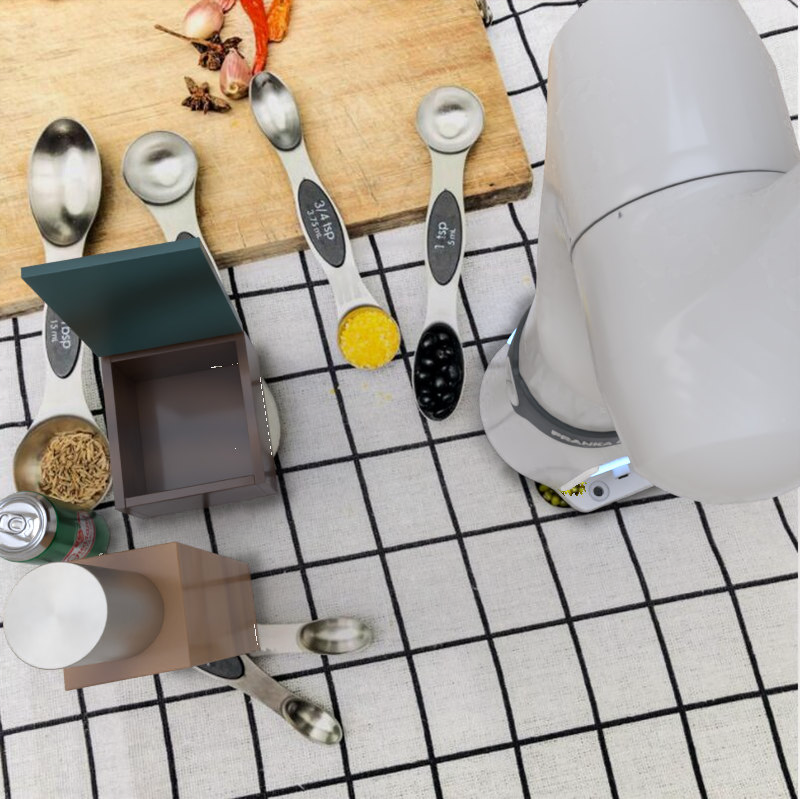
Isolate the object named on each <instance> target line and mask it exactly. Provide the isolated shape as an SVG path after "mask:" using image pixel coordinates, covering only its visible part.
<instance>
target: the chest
mask: <svg viewBox="0 0 800 799" xmlns="http://www.w3.org/2000/svg"><path fill="white" fill-rule="evenodd" d="M99 358H100V366H101V377H102V378H101V379H102V387H103V397H104V406H105V407H104V410H105V417H106V419H105V420H106V429H107V439H108V450H109V459H110V461H109V462H110V469H111V481H112V482H111V483H112V490H113V491H112V492H113V502H114V510H115V511H118V512H121V513H123V514H126V515H128V516H131V517H134V518H137V519H140V520H149V519H155V518H159V517H164V516H170V515H176V514H181V513H186V512H187V513H188V512H191V511H192V512H193V511H198V510H203V509H209V508H215V507H219V506H225V505H230V504H236V503H242V502H247V501H251V500H257V499H263V498H270V497H275V496H279V495H280V491H279V483H278V477H277V470H276V464H275V457H274V451H273V444H272V443H273V442H272V436H271V431H270V423H269V415H268V410H267V403H266V395H265V390H264V383H263V376H262V368H261V363H260V362H261V361H260V355H259V353H258V352H257V350H256V348H255V346H254V344H253V343H252V341H251V340H250V337H249V336H248V335H247V333H246V331H245V330H244V329H243V332H239V333H233V334H227V335H222V336H216V337H210V338H205V339H199V340H193V341H188V342H182V343H176V344H171V345H165V346H159V347H154V348H148V349H142V350H137V351H131V352H125V353H120V354H114V355H108V356H103V357H99ZM237 363H238V364H237ZM232 364H233V365H232ZM214 366H222V367H216V368H211V367H214ZM260 377H261V382H260ZM261 384H262V389H261ZM262 391H263V395H262ZM263 398H264V402H263ZM264 405H265V408H264ZM265 411H266V415H265ZM266 418H267V421H266ZM267 425H268V427H267ZM268 432H269V435H268ZM269 439H270V441H269ZM270 446H271V449H270ZM235 448H236V449H235ZM271 452H272V455H271Z"/></svg>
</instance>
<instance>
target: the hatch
mask: <svg viewBox="0 0 800 799" xmlns="http://www.w3.org/2000/svg"><path fill="white" fill-rule="evenodd" d="M20 279H22V281H23V282H24V283H25V284H26V286H28V287H29V288H30V289H31V290H32V291H33V292H34V293H35V294H36V295H37V296H38V297H39V298H40V299H41V300H42V301H43V303H44V304H46V305H47V307H49V308H50V310H51V311H53V313H54V314H55V315H56V316H58V318H60V320H61V321H62V322H63V323H64V324H65V325H66V326H67V327H68V328H69V329H70V330H71V331H72V332H73V333H74V334H75V335H76V336H77V337H78V338H79V339H80V340H81V341H82V342H83V343H84V344H85V345H86V346H87V347H88V348H89V350H91V352H93V353H94V355H96V357H97V358H100V357H103V356H108V355H114V354H120V353H125V352H131V351H137V350H142V349H148V348H154V347H159V346H165V345H171V344H176V343H182V342H188V341H193V340H199V339H205V338H210V337H216V336H222V335H227V334H233V333H239V332H243V330H244V327H243V323H242V320H241V319H240V318H241V317H240V316H239V314H238V311H237V310H236V308H235V306H234V304H233V302H232V300H231V298H230V296H229V294H228V292H227V290H226V288H225V286H224V284H223V282H222V279H221V278H220V276H219V274H218V272H217V270H216V268H215V265H214V264H213V262H212V260H211V257H210V256H209V254H208V252H207V250H206V247H205V245H204V243H203V242H202V240H201V238H200V236H195V237H190V238H184V239H178V240H173V241H167V242H161V243H160V242H159V243H155V244H148V245H144V246H137V247H133V248H125V249H120V250H115V251H109V252H103V253H96V254H92V255H86V256H81V257H73V258H67V259H62V260H57V261H50V262H44V263H39V264H33V265H28V266H22V267H20Z"/></svg>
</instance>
